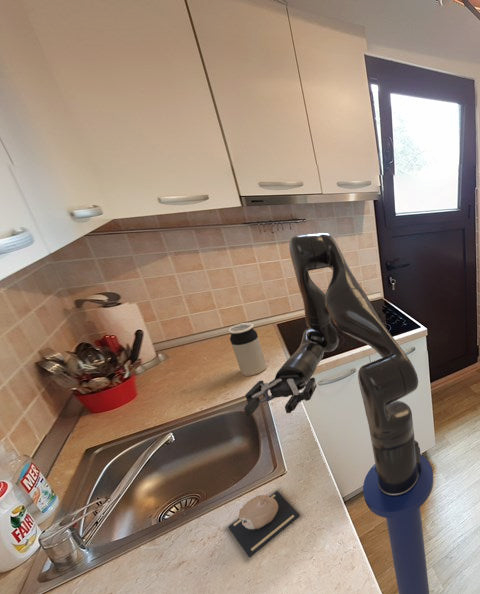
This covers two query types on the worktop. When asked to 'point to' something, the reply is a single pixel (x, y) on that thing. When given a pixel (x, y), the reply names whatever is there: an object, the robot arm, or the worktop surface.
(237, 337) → the travel mug
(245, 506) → the tan rounded piece
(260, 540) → the slate mat
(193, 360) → the worktop surface
